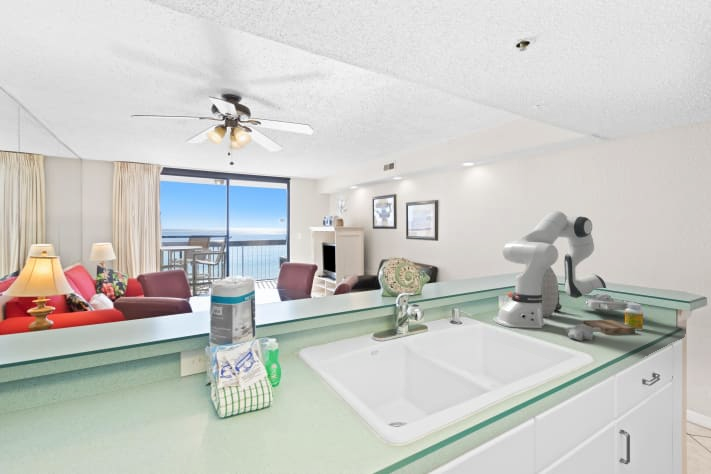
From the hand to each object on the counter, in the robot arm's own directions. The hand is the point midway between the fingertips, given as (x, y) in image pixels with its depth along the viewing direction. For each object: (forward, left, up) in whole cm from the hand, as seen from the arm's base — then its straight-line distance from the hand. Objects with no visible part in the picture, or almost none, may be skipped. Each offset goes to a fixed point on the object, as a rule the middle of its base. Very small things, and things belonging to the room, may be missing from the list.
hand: (619, 308), depth 159 cm
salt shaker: (-18, +20, -7) cm, 28 cm away
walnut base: (-16, -11, -6) cm, 21 cm away
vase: (-30, +13, -7) cm, 34 cm away
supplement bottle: (-4, -11, -7) cm, 13 cm away
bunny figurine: (-36, -20, -7) cm, 42 cm away
